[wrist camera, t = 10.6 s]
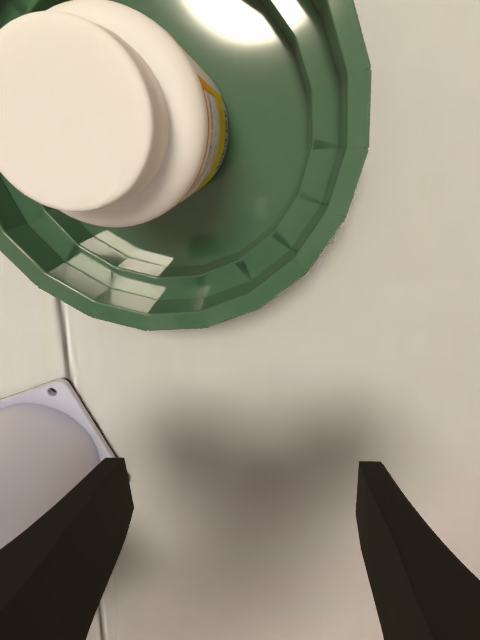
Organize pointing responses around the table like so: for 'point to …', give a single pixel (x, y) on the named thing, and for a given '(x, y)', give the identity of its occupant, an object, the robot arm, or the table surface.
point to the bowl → (222, 172)
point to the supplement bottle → (105, 114)
